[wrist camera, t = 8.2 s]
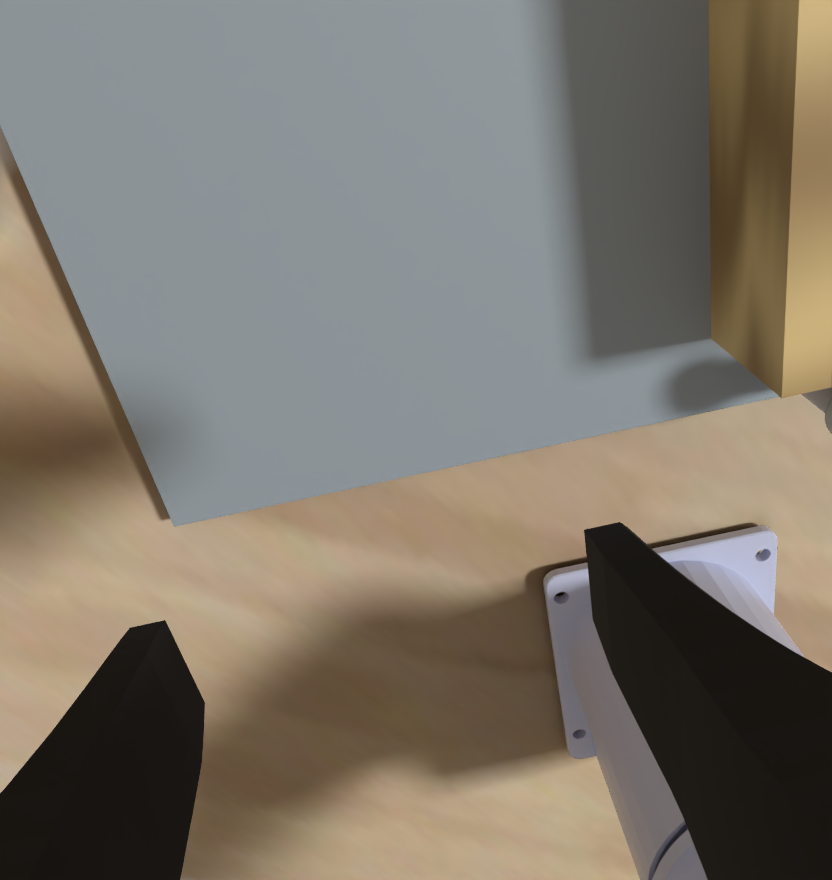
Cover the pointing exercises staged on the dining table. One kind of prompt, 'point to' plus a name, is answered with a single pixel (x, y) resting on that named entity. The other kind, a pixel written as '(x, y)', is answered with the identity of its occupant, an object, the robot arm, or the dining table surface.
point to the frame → (772, 188)
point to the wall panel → (374, 227)
